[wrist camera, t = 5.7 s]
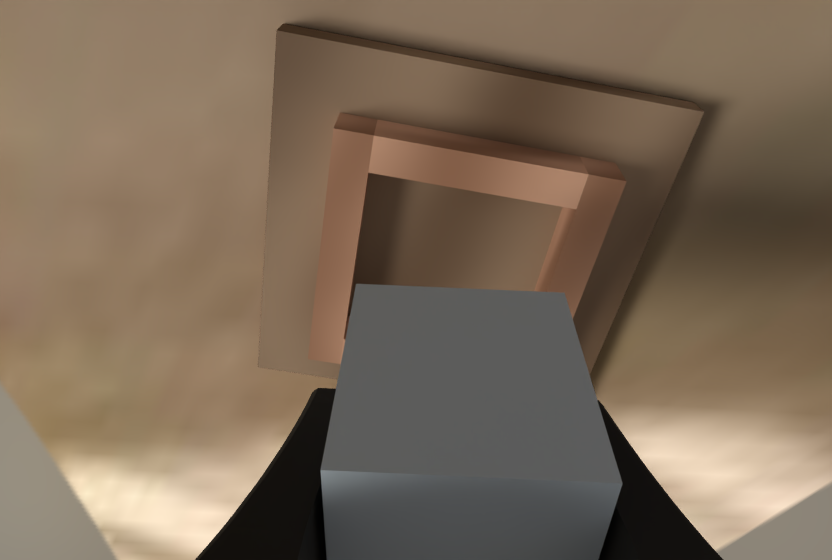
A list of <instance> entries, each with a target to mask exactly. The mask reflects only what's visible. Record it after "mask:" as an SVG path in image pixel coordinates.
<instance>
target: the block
mask: <svg viewBox="0 0 832 560" xmlns="http://www.w3.org/2000/svg"><path fill="white" fill-rule="evenodd" d="M321 484H322V499H323V513H324V527H325V542H326V556H327V560H598V559H599V556H600V553H601V549H602V546H603V543H604V540H605V537H606V534H607V531H608V528H609V524H610V521H611V518H612V515H613V512H614V509H615V506H616V503H617V499H618V496H619V493H620V490H621V487H622V484H623V483H622V480H621V477H620V473H619V470H618V467H617V463H616V460H615V457H614V454H613V450H612V447H611V444H610V440H609V437H608V434H607V431H606V427H605V424H604V421H603V417H602V414H601V411H600V408H599V404H598V401H597V398H596V394H595V391H594V388H593V385H592V381H591V378H590V375H589V371H588V368H587V365H586V362H585V358H584V355H583V352H582V348H581V345H580V342H579V339H578V335H577V332H576V329H575V325H574V322H573V319H572V316H571V312H570V309H569V306H568V302H567V299H566V296H565V293H559V292H536V291H513V290H490V289H467V288H444V287H421V286H397V285H374V284H356V287H355V292H354V298H353V303H352V308H351V313H350V319H349V324H348V329H347V334H346V339H345V345H344V350H343V355H342V360H341V366H340V371H339V376H338V381H337V387H336V392H335V397H334V402H333V407H332V413H331V418H330V423H329V428H328V434H327V439H326V444H325V449H324V455H323V460H322V465H321Z"/></svg>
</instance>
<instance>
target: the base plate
mask: <svg viewBox="0 0 832 560" xmlns="http://www.w3.org/2000/svg"><path fill="white" fill-rule="evenodd" d="M703 114H704V111H703V110H701V109H700V108H699V107H698V106H697V105H696V104H695V103H694V102H688V101H683V100H678V99H673V98H668V97H662V96H657V95H652V94H647V93H642V92H636V91H631V90H626V89H621V88H616V87H610V86H605V85H600V84H595V83H590V82H584V81H579V80H574V79H569V78H564V77H558V76H553V75H548V74H543V73H538V72H532V71H527V70H522V69H517V68H512V67H506V66H501V65H496V64H491V63H486V62H480V61H475V60H470V59H465V58H460V57H454V56H449V55H444V54H439V53H434V52H428V51H423V50H418V49H413V48H408V47H402V46H397V45H392V44H387V43H382V42H376V41H371V40H366V39H361V38H355V37H350V36H345V35H340V34H335V33H329V32H324V31H319V30H314V29H309V28H303V27H298V26H293V25H288V24H282V25H281V26H280V28H279V29H278V30H277V34H276V52H275V70H274V88H273V106H272V124H271V142H270V160H269V177H268V195H267V213H266V231H265V249H264V267H263V285H262V303H261V321H260V339H259V357H258V367H259V368H266V369H272V370H279V371H286V372H292V373H299V374H305V375H312V376H319V377H325V378H332V379H338V376H339V371H340V366H341V360H342V355H343V350H344V345H345V339H346V334H347V329H348V324H349V319H350V313H351V308H352V303H353V298H354V292H355V287H356V284H374V285H397V286H421V287H444V288H467V289H490V290H513V291H536V292H559V293H565V296H566V299H567V302H568V306H569V309H570V312H571V316H572V319H573V322H574V325H575V329H576V332H577V335H578V339H579V342H580V345H581V348H582V352H583V355H584V358H585V362H586V365H587V368H588V371H589V375H590V373H591V371H592V369H593V366H594V364H595V362H596V359H597V357H598V355H599V353H600V350H601V348H602V346H603V343H604V341H605V339H606V337H607V334H608V332H609V330H610V327H611V325H612V323H613V320H614V318H615V316H616V314H617V311H618V309H619V307H620V304H621V302H622V300H623V298H624V295H625V293H626V291H627V288H628V286H629V284H630V282H631V279H632V277H633V275H634V272H635V270H636V268H637V265H638V263H639V261H640V259H641V256H642V254H643V252H644V249H645V247H646V245H647V243H648V240H649V238H650V236H651V233H652V231H653V229H654V227H655V224H656V222H657V220H658V217H659V215H660V213H661V210H662V208H663V206H664V204H665V201H666V199H667V197H668V194H669V192H670V190H671V188H672V185H673V183H674V181H675V178H676V176H677V174H678V171H679V169H680V167H681V165H682V162H683V160H684V158H685V155H686V153H687V151H688V149H689V146H690V144H691V142H692V139H693V137H694V135H695V133H696V130H697V128H698V126H699V123H700V121H701V119H702V116H703Z"/></svg>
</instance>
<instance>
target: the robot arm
mask: <svg viewBox="0 0 832 560" xmlns="http://www.w3.org/2000/svg"><path fill="white" fill-rule="evenodd" d="M335 392H336V389H328V388H318V389H316V390H315V391H314V392H312V394H311V396H310V398H309V400H308V402H307V404H306V406H305V408H304V410H303V412H302V414H301V416H300V417H299V419H298V421H297V423H296V424H295V426H294V428H293V429H292V431H291V433H290V434H289V436H288V438H287V439H286V441H285V442H284V444H283V446H282V447H281V449H280V450H279V452H278V453H277V455H276V456H275V458H274V459H273V461H272V462H271V464H270V465H269V466H268V468H267V469H266V471H265V472H264V474H263V475H262V477H261V478H260V480H259V481H258V482H257V484H256V485H255V486H254V488H253V489H252V490H251V492H250V493H249V494H248V496H247V497H246V498H245V500H244V501H243V502H242V504H241V505H240V506H239V508H238V509H237V510H236V512H235V513H234V514H233V516H232V517H231V518H230V519H229V521H228V522H227V523H226V524H225V525H224V527H223V528H222V529H221V530H220V532H219V533H218V534H217V535H216V536H215V537H214V539H213V540H212V541H211V542H210V543H209V544H208V546H207V547H206V548H205V549H204V550H203V551H202V552H201V554H200V555H199V556H198V557H197V558H196V559H195V560H327V556H326V542H325V527H324V513H323V499H322V484H321V465H322V460H323V455H324V449H325V444H326V439H327V434H328V428H329V423H330V418H331V413H332V407H333V402H334V397H335ZM597 401H598V404H599V408H600V411H601V414H602V417H603V421H604V424H605V427H606V431H607V434H608V437H609V440H610V444H611V447H612V450H613V454H614V457H615V460H616V463H617V467H618V470H619V473H620V477H621V480H622V483H623V484H622V487H621V490H620V493H619V496H618V499H617V503H616V506H615V509H614V512H613V515H612V518H611V521H610V524H609V528H608V531H607V534H606V537H605V540H604V543H603V546H602V549H601V553H600V556H599V559H598V560H723V559H722V558H721V557H720V556H719V555H718V553H717V552H716V551H715V550H714V549H713V548H712V547H711V546H710V545H709V543H708V542H707V541H706V540H705V539H704V538H703V537H702V535H701V534H700V533H699V532H698V531H697V530H696V528H695V527H694V526H693V525H692V524H691V523H690V521H689V520H688V519H687V518H686V517H685V516H684V514H683V513H682V512H681V511H680V509H679V508H678V507H677V506H676V505H675V503H674V502H673V501H672V500H671V498H670V497H669V496H668V494H667V493H666V492H665V491H664V489H663V488H662V487H661V485H660V484H659V483H658V482H657V480H656V479H655V478H654V476H653V475H652V474H651V473H650V471H649V470H648V468H647V467H646V466H645V464H644V463H643V462H642V460H641V459H640V458H639V456H638V455H637V453H636V452H635V451H634V449H633V448H632V447H631V445H630V444H629V442H628V441H627V440H626V438H625V437H624V435H623V434H622V432H621V431H620V430H619V428H618V427H617V425H616V424H615V422H614V421H613V419H612V418H611V416H610V415H609V413H608V412H607V411H606V409H605V408H604V406H603V405H602V404H601V403H600V402H599V400H597Z"/></svg>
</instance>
